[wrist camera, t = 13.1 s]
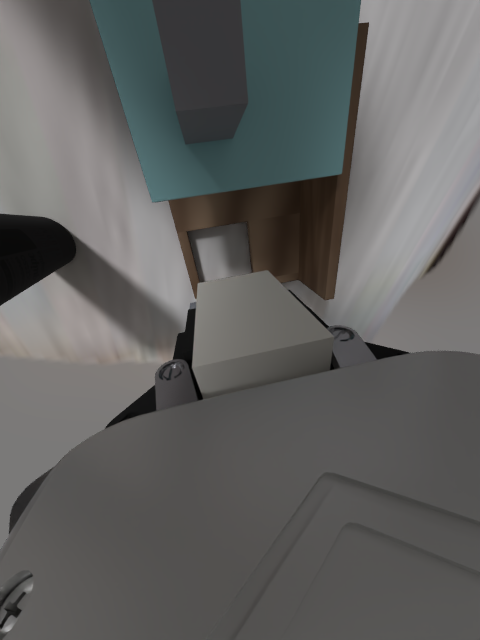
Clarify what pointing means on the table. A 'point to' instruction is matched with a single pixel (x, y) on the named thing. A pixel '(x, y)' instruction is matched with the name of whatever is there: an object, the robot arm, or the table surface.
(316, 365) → the block
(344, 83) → the cover
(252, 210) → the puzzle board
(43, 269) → the drinking cup
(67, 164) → the table surface
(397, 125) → the table surface
